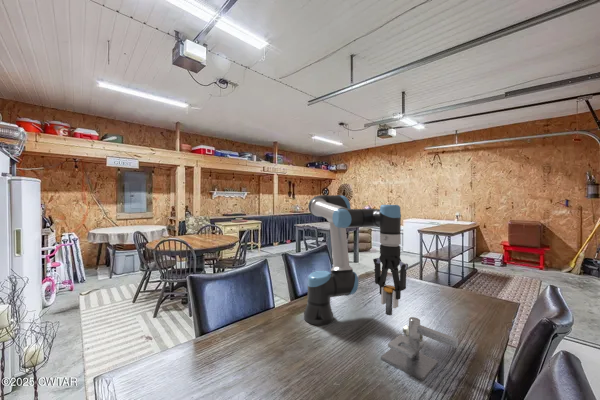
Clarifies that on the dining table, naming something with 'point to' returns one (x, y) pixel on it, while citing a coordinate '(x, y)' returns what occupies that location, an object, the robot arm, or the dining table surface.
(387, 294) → the gold knobbed rod
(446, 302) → the dining table surface
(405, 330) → the pipe fitting
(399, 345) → the grey lever mechanism
